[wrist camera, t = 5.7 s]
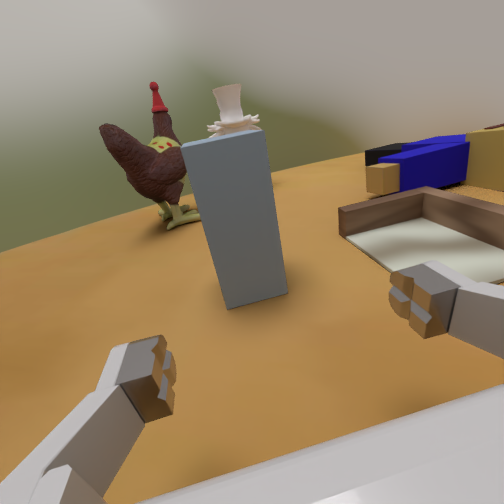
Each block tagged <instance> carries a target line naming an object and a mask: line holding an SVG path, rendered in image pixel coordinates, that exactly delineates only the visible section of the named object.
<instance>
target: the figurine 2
mask: <svg viewBox="0 0 504 504" xmlns="http://www.w3.org/2000/svg"><path fill="white" fill-rule="evenodd" d="M240 90H241V84H233V85H227V86H223V87H219V88H216V89H213V90H212V92H213V94H214V95H215V97H216V99H217V101H218V102H217V104H218V106H219V108H220V112H221V113H220V117H221V121H222V122H220V121H217V122H215V125H212V126H208V125H207V127H208V128H209V129H208V131H209V132H214V131H215V132H217V133H215V134H213V135H212V136H210V137H209V138H213V137H217V136H222V135H227V134H232V133H236V132H241V131H246V130H261V128H258V127H257V126H255V125H251V124H253V123H257V122H259V121H260V119H259V120H256V119H257V118H258V116H259V114H258V115H256V116H253V117H251V115H247V116H245V117H243V113H242V109H241V105H240Z"/></svg>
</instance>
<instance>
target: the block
mask: <svg viewBox="0 0 504 504" xmlns="http://www.w3.org/2000/svg"><path fill="white" fill-rule="evenodd" d="M180 149H181V152H182V156H183V159H184V163H185V166H186V169H187V173H188V176H189V180H190V183H191V187H192V190H193V194H194V197H195V200H196V204H197V207H198V211H199V214H200V218H201V221H202V225H203V228H204V231H205V235H206V238H207V242H208V245H209V249H210V252H211V256H212V259H213V262H214V266H215V269H216V273H217V276H218V280H219V283H220V287H221V290H222V294H223V297H224V300H225V304H226V307H227V310H228V309H231V308H235V307H239V306H243V305H246V304H250V303H254V302H257V301H261V300H265V299H268V298H272V297H276V296H280V295H283V294H287V293H288V289H287V282H286V275H285V269H284V262H283V255H282V248H281V241H280V234H279V227H278V221H277V214H276V207H275V200H274V193H273V186H272V180H271V173H270V166H269V160H268V152H267V146H266V139H265V132H264V130H246V131H241V132H236V133H232V134H227V135H222V136H217V137H213V138H208V139H203V140H199V141H194V142H189V143H185V144H183V145H182V147H181V148H180Z"/></svg>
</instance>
